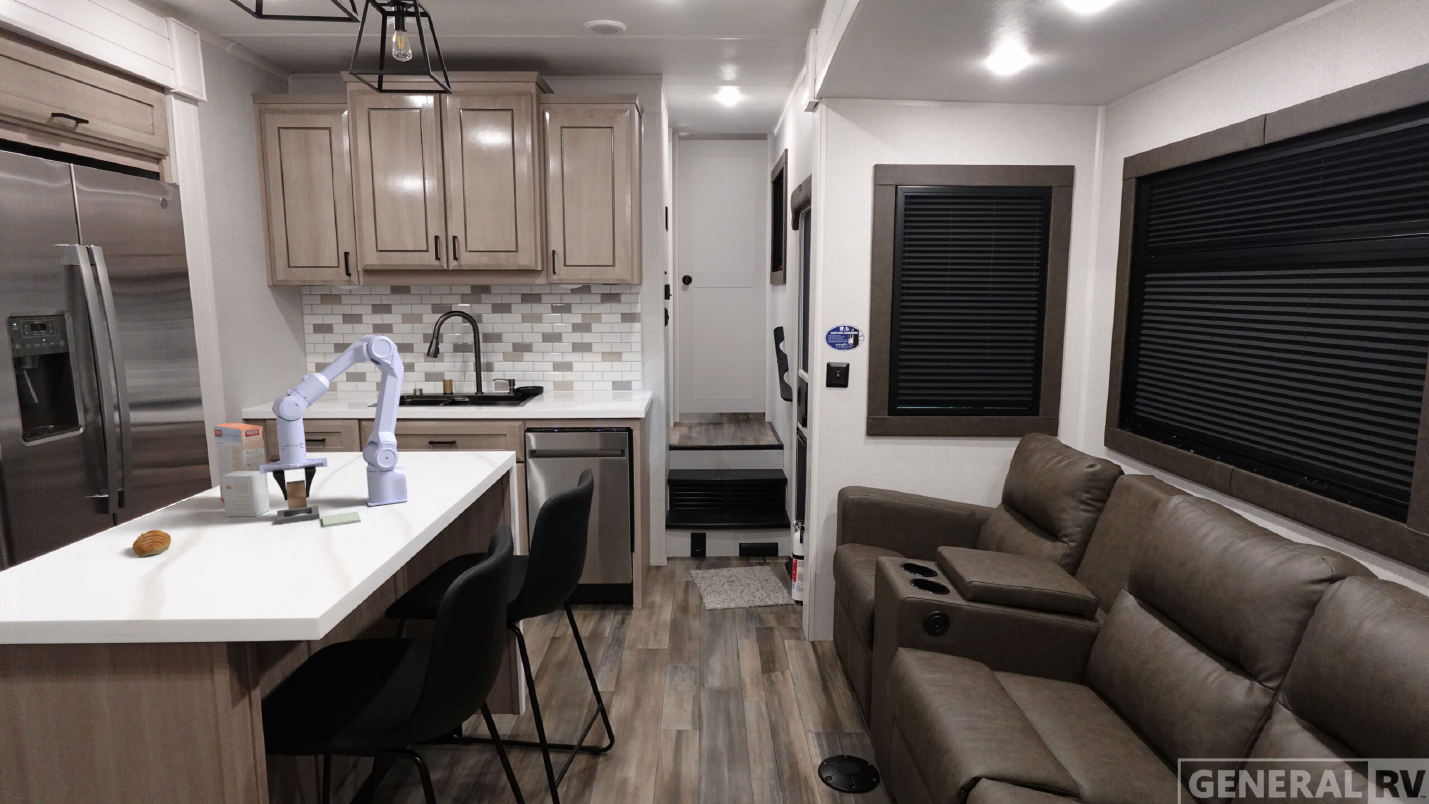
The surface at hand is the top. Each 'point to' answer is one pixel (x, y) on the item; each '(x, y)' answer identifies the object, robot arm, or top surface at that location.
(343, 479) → the top surface
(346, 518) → the sage green board
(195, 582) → the top surface
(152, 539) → the pastry
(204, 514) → the top surface
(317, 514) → the collar
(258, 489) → the small box
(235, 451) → the cracker box
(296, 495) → the walnut plug
